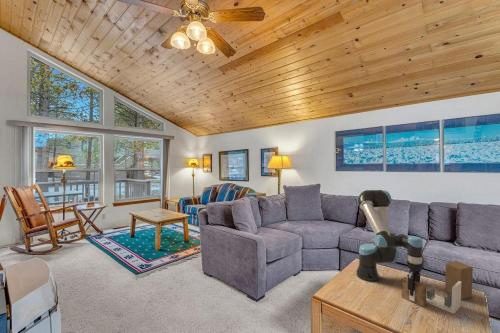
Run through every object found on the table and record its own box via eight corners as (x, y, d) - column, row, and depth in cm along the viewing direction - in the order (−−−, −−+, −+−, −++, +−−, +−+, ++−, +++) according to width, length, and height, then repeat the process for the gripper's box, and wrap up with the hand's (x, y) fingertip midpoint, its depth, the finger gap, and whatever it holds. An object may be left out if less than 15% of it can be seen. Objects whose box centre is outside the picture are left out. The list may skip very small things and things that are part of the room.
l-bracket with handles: (421, 300, 150) (422, 276, 149) (428, 293, 157) (429, 271, 156) (454, 314, 137) (454, 288, 136) (460, 306, 144) (461, 281, 143)
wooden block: (461, 300, 150) (462, 269, 149) (444, 291, 159) (445, 262, 158) (472, 298, 152) (473, 267, 151) (455, 289, 162) (456, 260, 161)
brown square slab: (401, 297, 153) (402, 278, 153) (404, 295, 156) (404, 277, 155) (423, 306, 144) (424, 287, 143) (426, 304, 146) (426, 285, 145)
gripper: (415, 268, 141) (414, 307, 142) (427, 260, 150) (426, 297, 151) (401, 263, 147) (400, 300, 148) (413, 256, 157) (412, 291, 158)
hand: (413, 298), depth 150 cm, fingers closed on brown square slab, 4 cm apart
